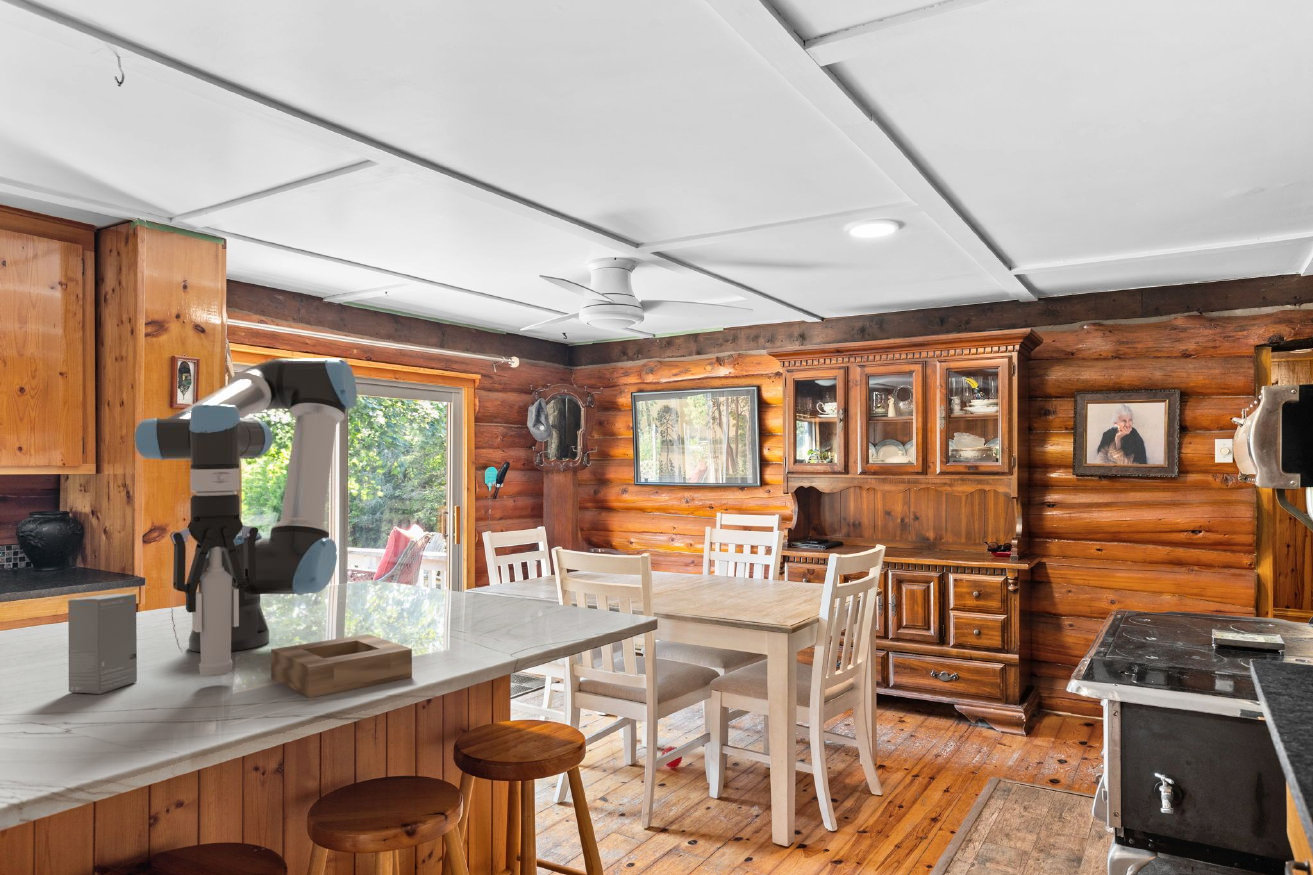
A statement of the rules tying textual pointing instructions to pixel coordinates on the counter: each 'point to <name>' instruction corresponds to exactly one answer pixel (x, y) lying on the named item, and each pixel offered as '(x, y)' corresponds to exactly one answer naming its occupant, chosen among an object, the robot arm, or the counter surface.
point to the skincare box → (102, 643)
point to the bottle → (216, 617)
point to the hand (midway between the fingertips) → (215, 627)
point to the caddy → (340, 664)
